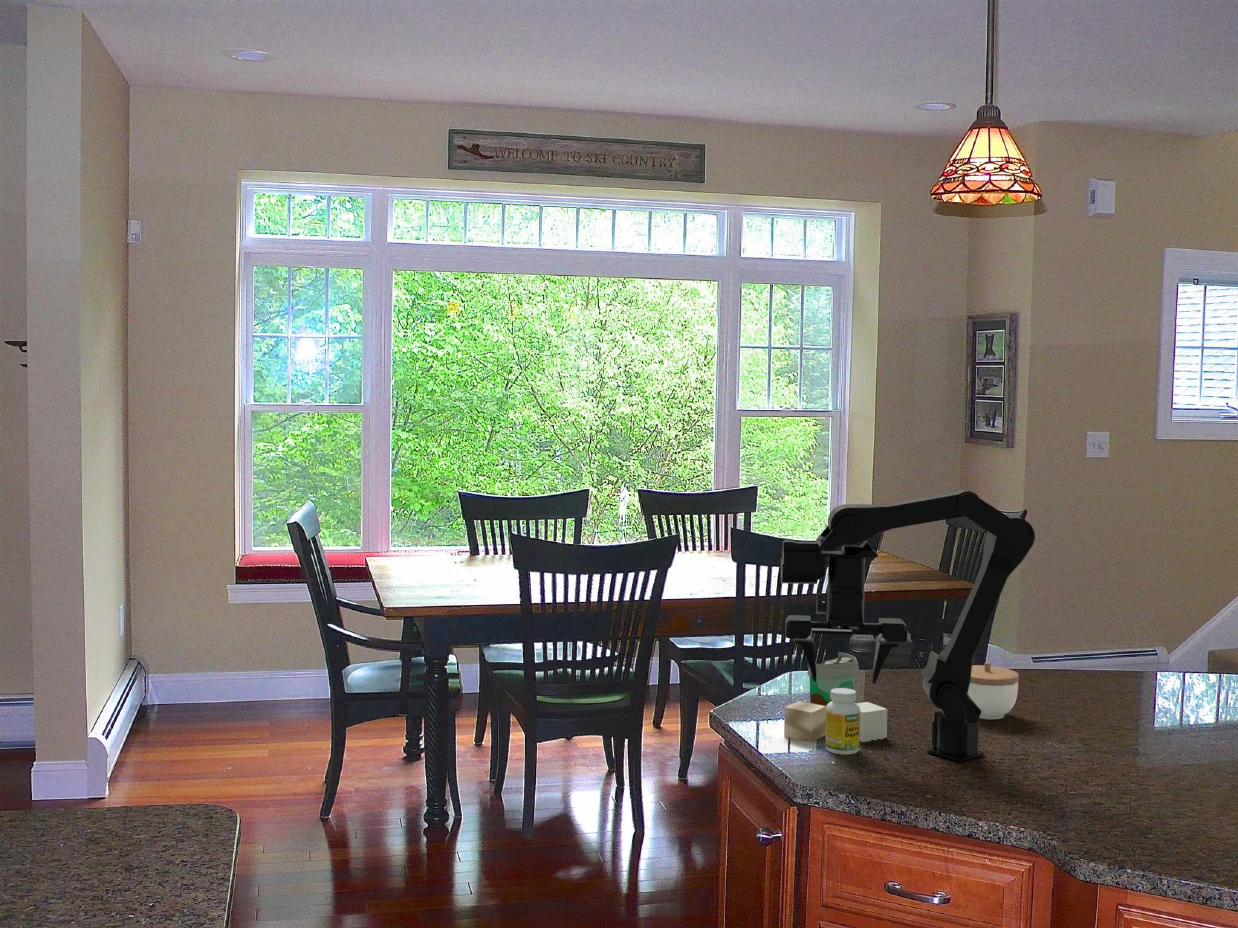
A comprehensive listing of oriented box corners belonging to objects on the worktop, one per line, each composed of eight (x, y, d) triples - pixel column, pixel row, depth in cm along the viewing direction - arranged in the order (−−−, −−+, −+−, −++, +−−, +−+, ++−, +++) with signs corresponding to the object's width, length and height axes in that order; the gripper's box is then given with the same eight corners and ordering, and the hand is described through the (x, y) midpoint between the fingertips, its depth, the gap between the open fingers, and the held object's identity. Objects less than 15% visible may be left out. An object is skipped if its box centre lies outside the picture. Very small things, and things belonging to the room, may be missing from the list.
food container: (838, 726, 199) (840, 668, 199) (806, 719, 203) (807, 663, 202) (870, 711, 209) (871, 656, 209) (838, 705, 213) (840, 651, 212)
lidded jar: (1031, 719, 205) (1032, 667, 204) (981, 725, 201) (982, 671, 200) (990, 704, 215) (992, 654, 214) (942, 709, 211) (943, 658, 210)
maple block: (825, 735, 194) (826, 706, 194) (811, 742, 190) (811, 712, 190) (798, 730, 197) (799, 701, 197) (784, 736, 193) (784, 707, 193)
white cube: (886, 738, 193) (887, 708, 192) (862, 742, 190) (863, 712, 190) (866, 730, 197) (867, 701, 197) (843, 734, 195) (844, 705, 194)
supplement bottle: (838, 743, 190) (839, 684, 189) (866, 750, 186) (867, 691, 185) (818, 749, 186) (819, 690, 185) (846, 757, 182) (847, 696, 181)
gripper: (900, 578, 191) (898, 672, 192) (785, 575, 194) (784, 668, 194) (908, 589, 180) (906, 689, 181) (786, 586, 182) (785, 684, 183)
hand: (844, 682), depth 185 cm, fingers open, 9 cm apart
